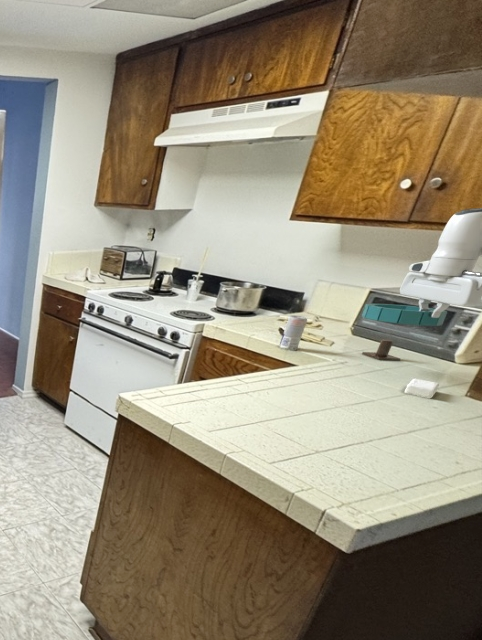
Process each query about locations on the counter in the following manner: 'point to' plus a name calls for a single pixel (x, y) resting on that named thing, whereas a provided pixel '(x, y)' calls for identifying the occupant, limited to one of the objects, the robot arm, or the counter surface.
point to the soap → (422, 388)
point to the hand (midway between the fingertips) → (427, 316)
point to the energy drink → (293, 332)
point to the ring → (401, 314)
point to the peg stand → (382, 351)
